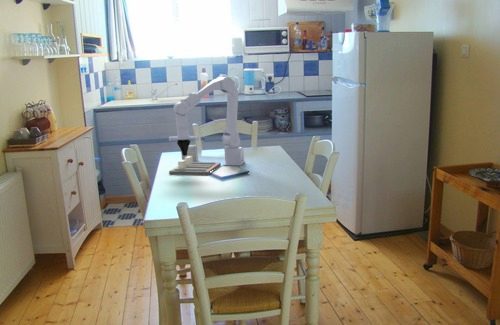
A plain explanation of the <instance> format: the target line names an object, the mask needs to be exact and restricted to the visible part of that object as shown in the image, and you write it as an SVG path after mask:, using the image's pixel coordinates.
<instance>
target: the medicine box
mask: <svg viewBox="0 0 500 325" xmlns="http://www.w3.org/2000/svg"><path fill="white" fill-rule="evenodd" d="M180 151H181V150H180ZM198 154H199V153H198V145H197V144H189V147H188V151H187V155H186V156H183V154H182V151H181V160H185V157H187V156H192V159H193V162H199V155H198Z"/></svg>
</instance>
